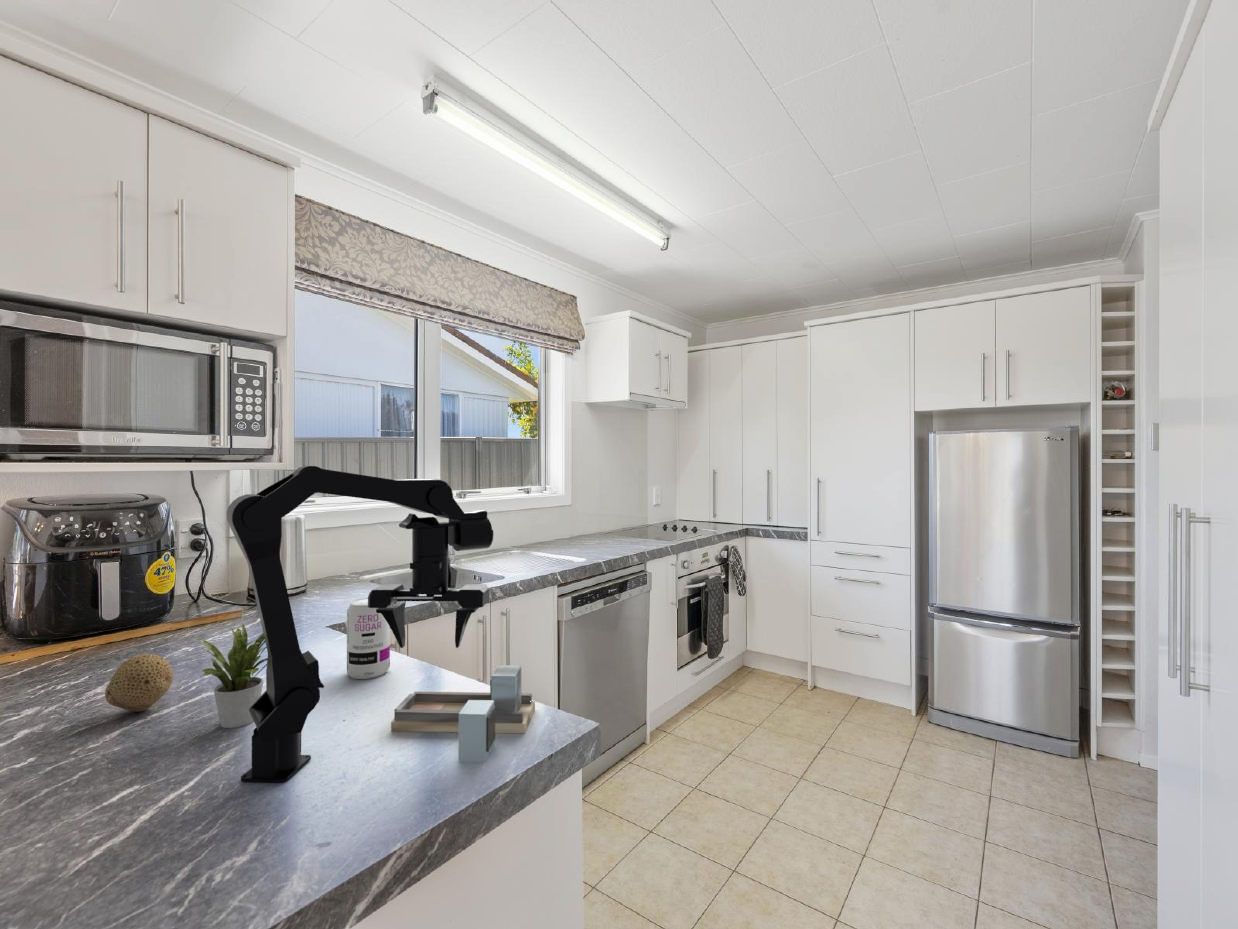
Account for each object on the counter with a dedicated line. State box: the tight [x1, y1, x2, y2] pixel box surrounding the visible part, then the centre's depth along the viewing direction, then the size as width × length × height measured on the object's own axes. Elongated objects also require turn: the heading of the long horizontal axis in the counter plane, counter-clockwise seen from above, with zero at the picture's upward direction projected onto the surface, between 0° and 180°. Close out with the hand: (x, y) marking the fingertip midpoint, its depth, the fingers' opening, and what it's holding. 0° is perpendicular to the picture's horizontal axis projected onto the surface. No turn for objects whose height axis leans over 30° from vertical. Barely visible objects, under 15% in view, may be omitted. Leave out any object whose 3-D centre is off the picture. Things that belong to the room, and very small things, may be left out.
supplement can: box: [346, 597, 391, 680], centre depth 120 cm, size 8×8×15 cm
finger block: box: [457, 700, 496, 763], centre depth 87 cm, size 5×4×7 cm
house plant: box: [195, 622, 268, 729], centre depth 97 cm, size 14×14×16 cm
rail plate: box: [390, 664, 536, 734], centre depth 98 cm, size 9×22×8 cm, turn 88°
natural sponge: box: [104, 653, 174, 713], centre depth 101 cm, size 9×9×10 cm
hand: (430, 647), depth 96 cm, fingers open, 9 cm apart
